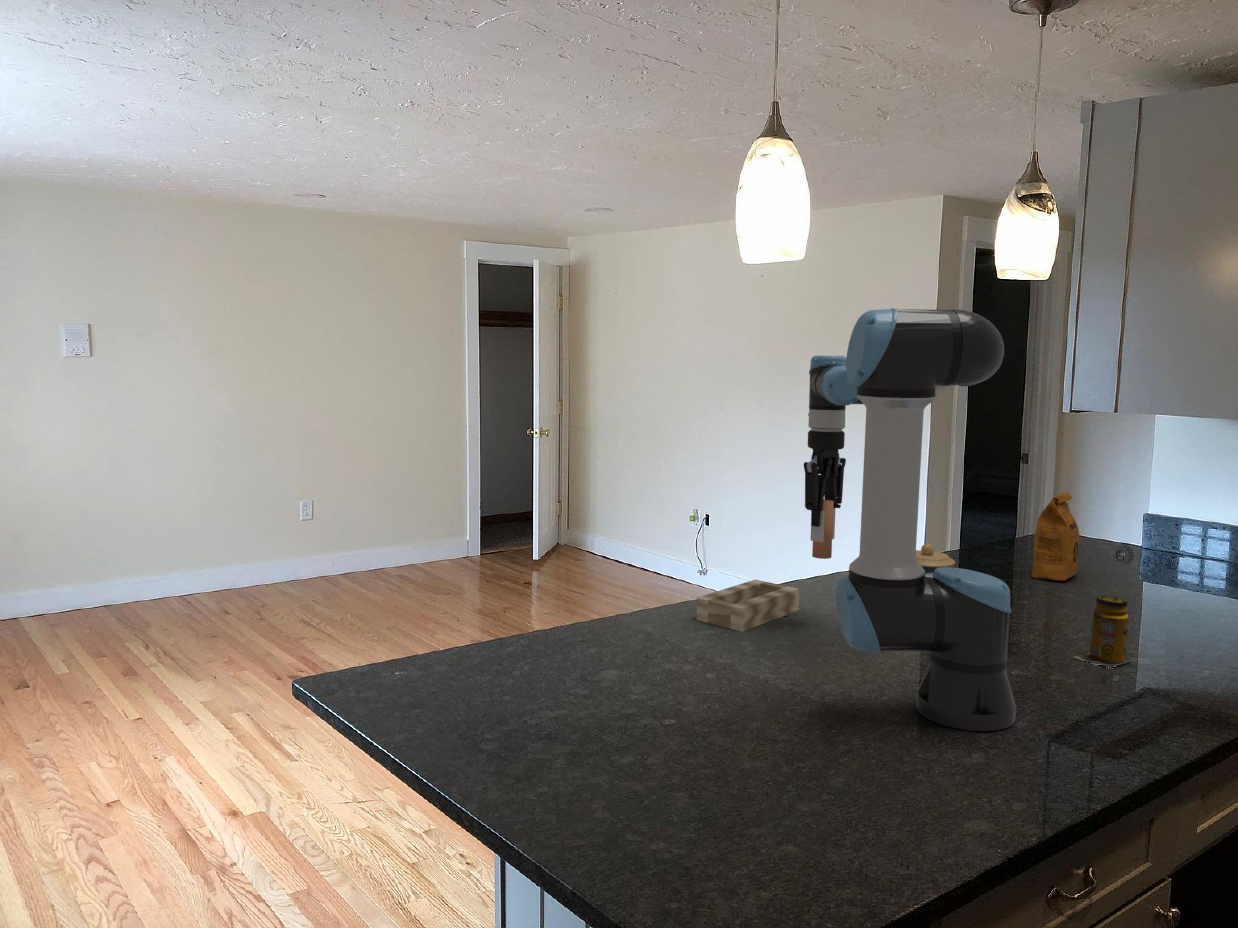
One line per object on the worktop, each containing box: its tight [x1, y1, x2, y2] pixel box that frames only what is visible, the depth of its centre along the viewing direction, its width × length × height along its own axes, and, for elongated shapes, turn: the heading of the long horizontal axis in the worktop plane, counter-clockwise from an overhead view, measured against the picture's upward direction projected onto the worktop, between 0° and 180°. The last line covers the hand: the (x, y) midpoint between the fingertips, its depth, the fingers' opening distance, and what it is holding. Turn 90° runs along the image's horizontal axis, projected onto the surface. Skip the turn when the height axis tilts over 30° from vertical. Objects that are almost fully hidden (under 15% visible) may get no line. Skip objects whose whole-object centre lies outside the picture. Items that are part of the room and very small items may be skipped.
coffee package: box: [1031, 492, 1081, 582], centre depth 236 cm, size 10×12×22 cm
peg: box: [811, 499, 834, 560], centre depth 193 cm, size 4×4×12 cm
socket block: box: [696, 579, 800, 633], centre depth 201 cm, size 22×12×5 cm, turn 137°
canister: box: [915, 543, 956, 579], centre depth 195 cm, size 13×13×18 cm
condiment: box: [1073, 595, 1135, 670], centre depth 173 cm, size 7×8×12 cm
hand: (822, 539), depth 193 cm, fingers closed on peg, 4 cm apart
